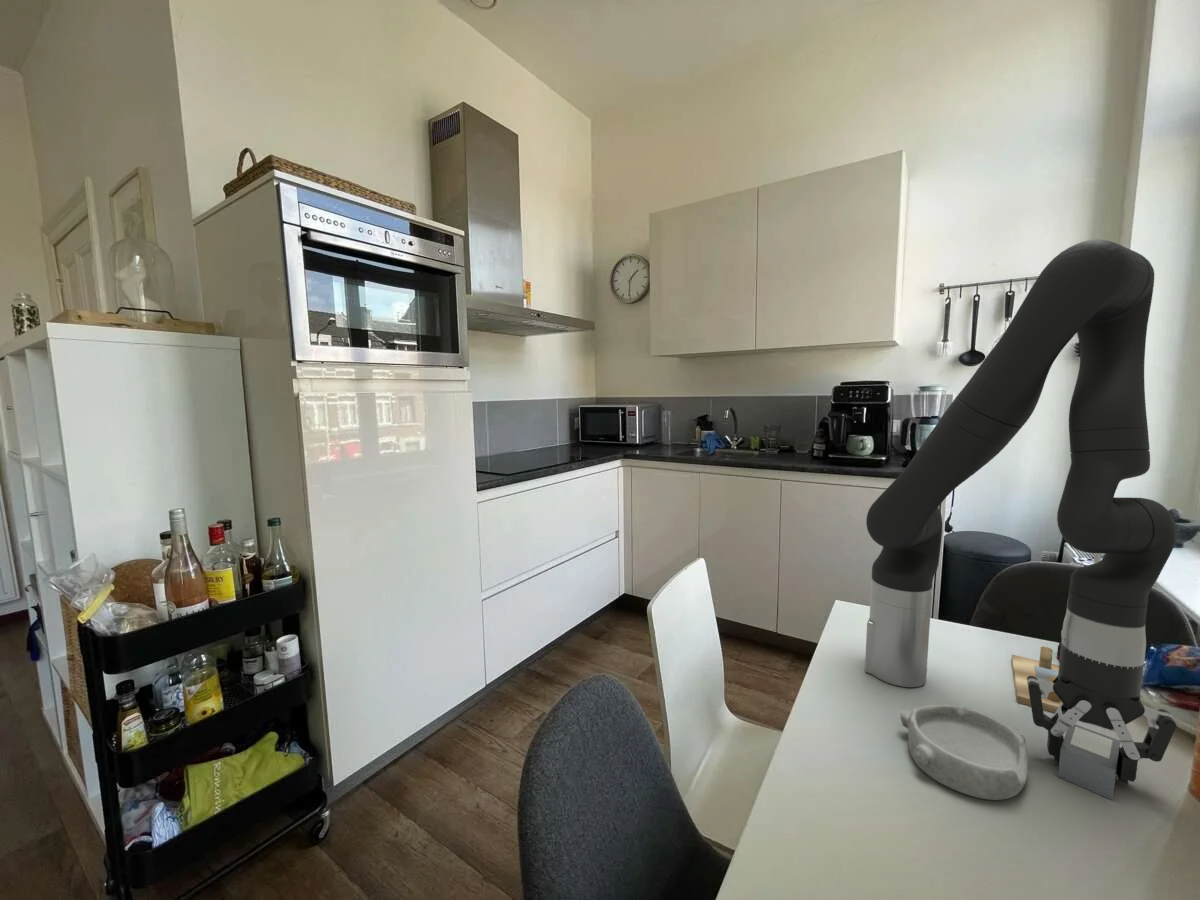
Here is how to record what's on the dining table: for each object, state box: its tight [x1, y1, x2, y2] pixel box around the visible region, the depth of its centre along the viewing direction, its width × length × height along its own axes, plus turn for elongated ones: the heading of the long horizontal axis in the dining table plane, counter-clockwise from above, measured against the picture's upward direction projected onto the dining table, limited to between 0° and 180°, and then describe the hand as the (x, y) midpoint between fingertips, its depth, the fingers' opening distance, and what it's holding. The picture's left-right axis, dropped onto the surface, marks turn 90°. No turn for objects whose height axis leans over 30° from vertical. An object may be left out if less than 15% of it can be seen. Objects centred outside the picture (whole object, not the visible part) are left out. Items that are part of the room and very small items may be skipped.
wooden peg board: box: [1010, 646, 1115, 731], centre depth 83 cm, size 16×12×5 cm
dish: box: [900, 703, 1029, 801], centre depth 67 cm, size 14×14×5 cm
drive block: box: [1057, 723, 1121, 801], centre depth 65 cm, size 5×8×4 cm, turn 130°
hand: (1088, 768), depth 65 cm, fingers closed on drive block, 5 cm apart
